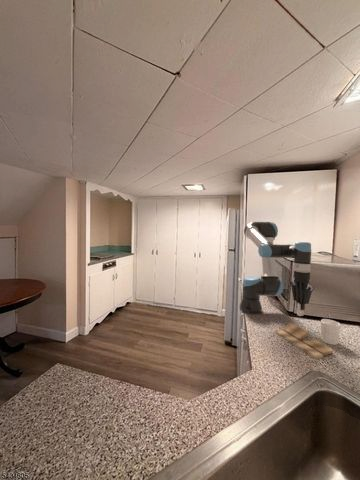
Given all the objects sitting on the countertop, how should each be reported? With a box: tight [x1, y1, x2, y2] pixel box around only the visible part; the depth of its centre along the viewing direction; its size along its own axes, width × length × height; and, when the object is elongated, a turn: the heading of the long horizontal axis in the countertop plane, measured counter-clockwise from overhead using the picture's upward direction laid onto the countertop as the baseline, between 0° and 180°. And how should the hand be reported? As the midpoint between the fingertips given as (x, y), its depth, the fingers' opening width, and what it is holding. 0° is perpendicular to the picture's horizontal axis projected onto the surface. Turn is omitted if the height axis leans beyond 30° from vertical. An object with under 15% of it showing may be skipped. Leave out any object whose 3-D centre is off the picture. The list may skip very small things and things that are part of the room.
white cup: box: [320, 318, 341, 346], centre depth 103 cm, size 8×8×10 cm
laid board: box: [274, 329, 324, 359], centre depth 101 cm, size 24×4×1 cm, turn 16°
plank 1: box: [282, 322, 309, 342], centre depth 108 cm, size 11×6×1 cm
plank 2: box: [301, 337, 335, 356], centre depth 97 cm, size 11×6×1 cm, turn 16°
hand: (300, 315), depth 108 cm, fingers closed
